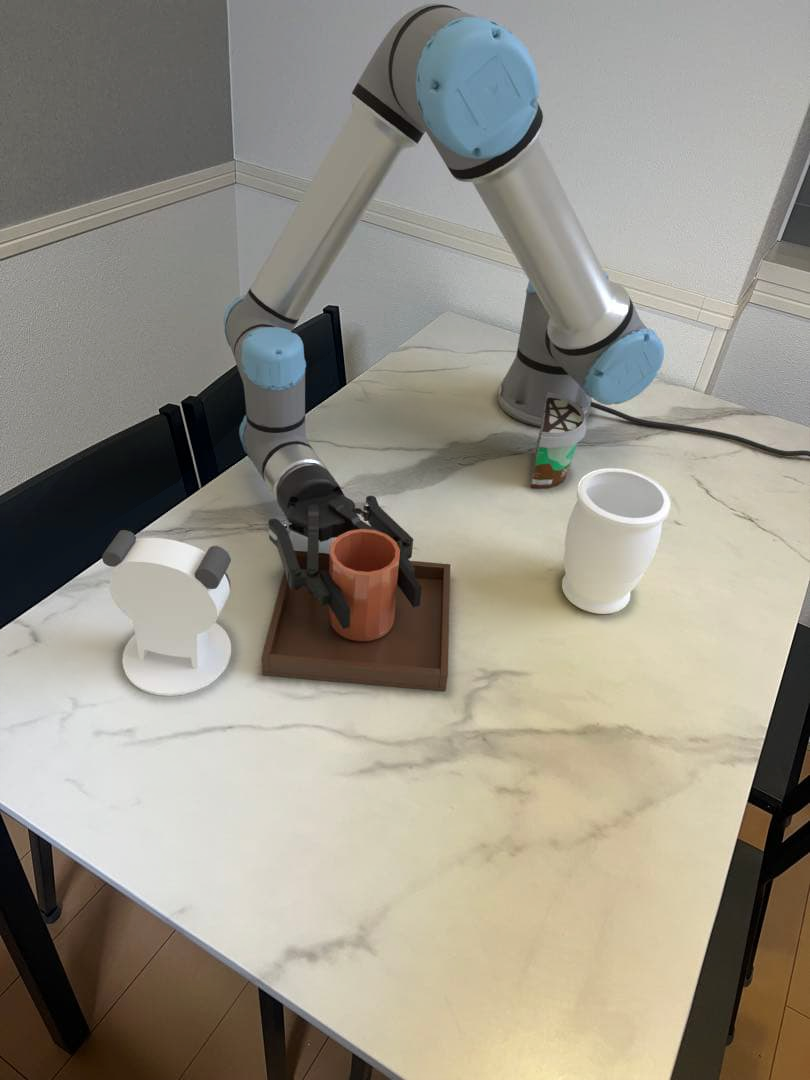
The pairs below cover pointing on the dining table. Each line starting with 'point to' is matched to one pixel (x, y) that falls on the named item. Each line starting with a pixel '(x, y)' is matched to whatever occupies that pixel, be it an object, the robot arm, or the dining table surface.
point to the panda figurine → (170, 611)
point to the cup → (365, 582)
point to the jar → (612, 537)
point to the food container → (557, 441)
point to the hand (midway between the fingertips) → (382, 607)
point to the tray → (392, 660)
